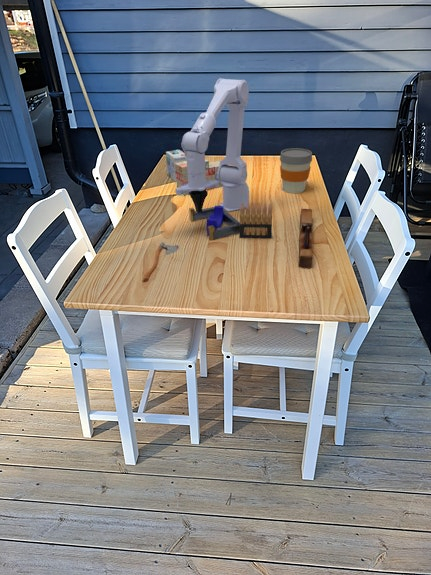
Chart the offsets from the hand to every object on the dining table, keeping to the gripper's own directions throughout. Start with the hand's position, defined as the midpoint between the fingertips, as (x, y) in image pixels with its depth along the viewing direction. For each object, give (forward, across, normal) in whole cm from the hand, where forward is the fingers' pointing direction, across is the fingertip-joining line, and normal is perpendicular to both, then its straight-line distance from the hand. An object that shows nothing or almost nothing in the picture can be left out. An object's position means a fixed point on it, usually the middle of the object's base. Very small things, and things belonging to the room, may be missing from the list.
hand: (198, 211), depth 143 cm
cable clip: (+7, +5, -2) cm, 9 cm away
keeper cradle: (+7, +6, 0) cm, 9 cm away
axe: (+7, -19, -15) cm, 25 cm away
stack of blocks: (+8, +17, +35) cm, 40 cm away
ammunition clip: (+7, +14, -14) cm, 21 cm away
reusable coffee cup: (+7, +49, +15) cm, 52 cm away
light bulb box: (+7, +13, +53) cm, 55 cm away
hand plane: (+7, +27, -24) cm, 37 cm away
